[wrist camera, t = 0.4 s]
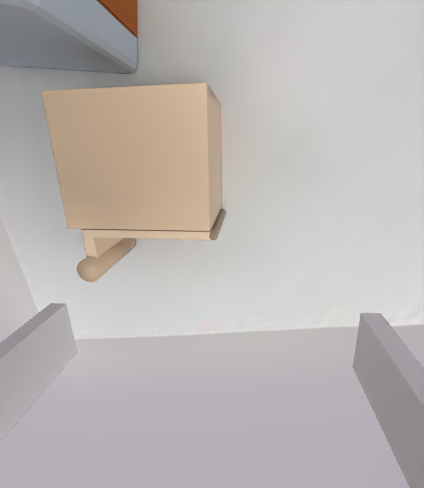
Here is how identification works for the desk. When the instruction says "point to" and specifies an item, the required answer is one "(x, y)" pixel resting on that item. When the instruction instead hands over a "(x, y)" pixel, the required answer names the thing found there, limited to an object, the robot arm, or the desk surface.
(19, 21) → the grey rounded slab
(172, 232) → the flap
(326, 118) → the desk surface
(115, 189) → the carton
